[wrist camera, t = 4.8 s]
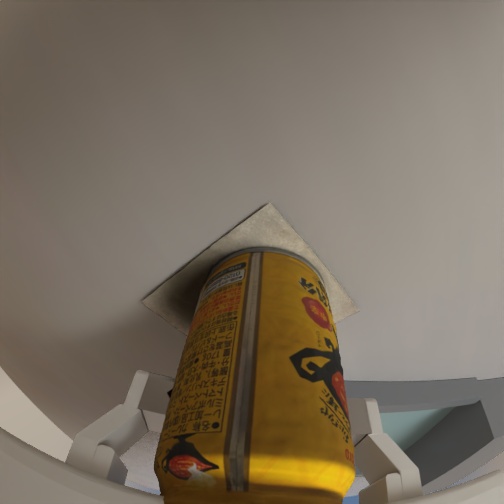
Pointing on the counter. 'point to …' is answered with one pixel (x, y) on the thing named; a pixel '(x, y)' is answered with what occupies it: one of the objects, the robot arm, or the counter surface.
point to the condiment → (256, 374)
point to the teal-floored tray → (440, 424)
